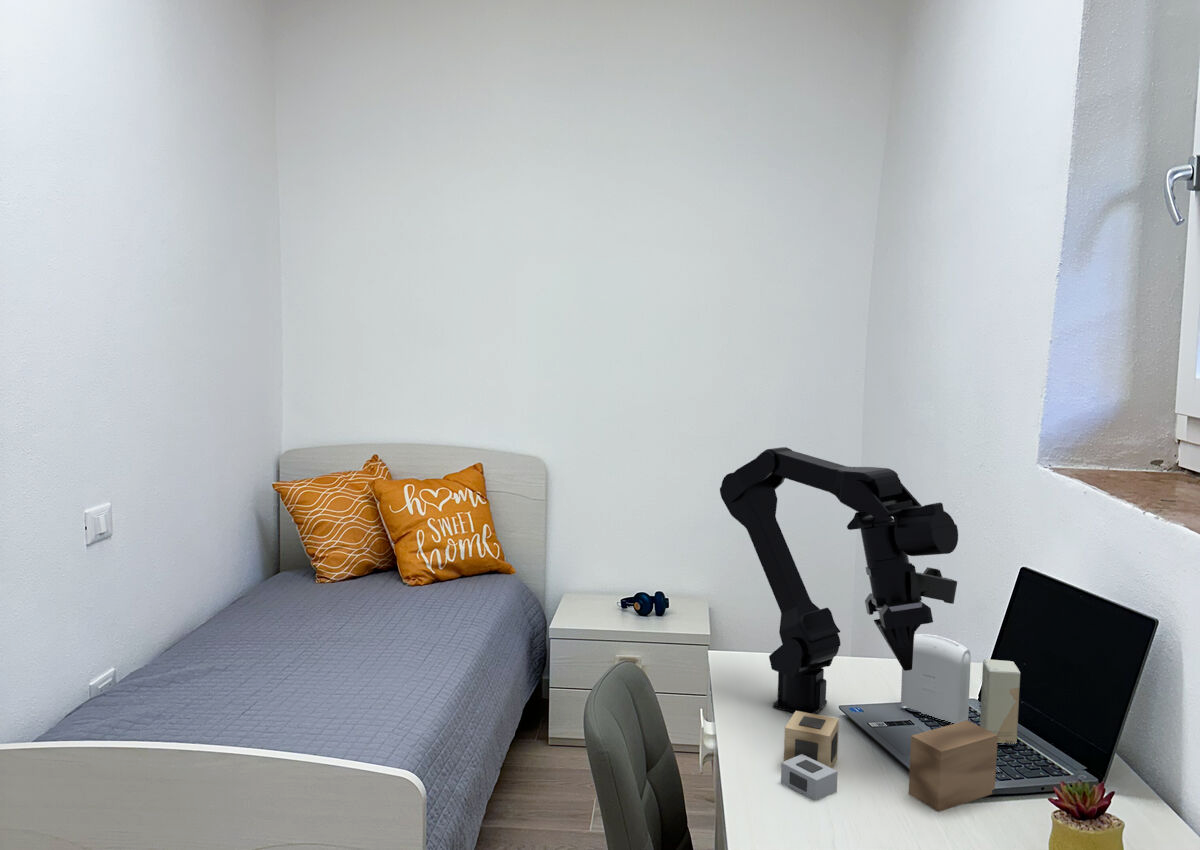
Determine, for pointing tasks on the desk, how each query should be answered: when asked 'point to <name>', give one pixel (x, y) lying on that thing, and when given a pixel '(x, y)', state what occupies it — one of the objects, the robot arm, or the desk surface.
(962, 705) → the photo printer
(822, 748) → the oak cube
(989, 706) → the box
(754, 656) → the desk surface
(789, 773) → the grey block
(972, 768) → the walnut block
